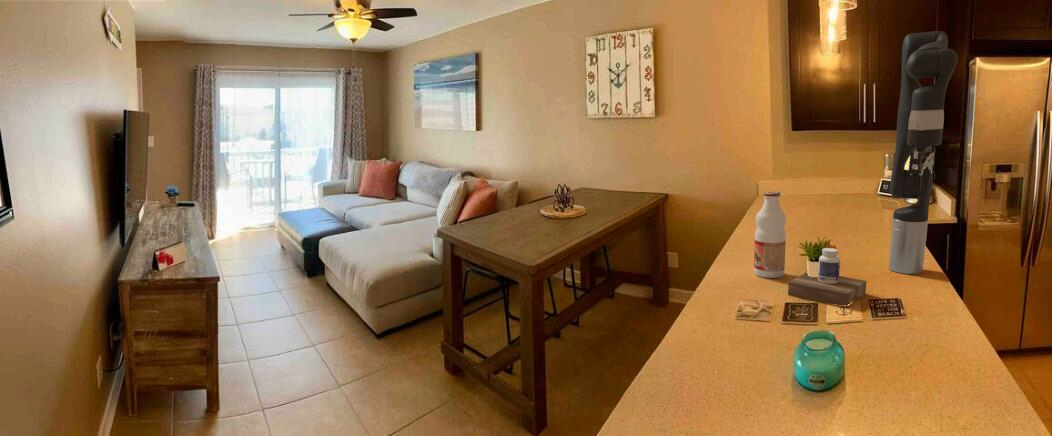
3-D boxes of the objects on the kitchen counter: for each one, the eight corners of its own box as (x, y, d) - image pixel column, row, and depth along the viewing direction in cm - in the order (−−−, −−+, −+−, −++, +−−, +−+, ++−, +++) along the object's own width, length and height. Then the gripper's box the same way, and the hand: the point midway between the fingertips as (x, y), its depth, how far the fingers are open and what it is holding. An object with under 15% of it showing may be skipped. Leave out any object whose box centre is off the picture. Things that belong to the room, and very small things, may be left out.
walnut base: (808, 282, 170) (809, 270, 169) (865, 293, 158) (866, 280, 158) (787, 294, 161) (788, 282, 160) (846, 307, 149) (847, 294, 148)
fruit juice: (777, 280, 174) (781, 195, 168) (748, 275, 180) (751, 193, 175) (788, 273, 180) (792, 191, 174) (760, 268, 187) (763, 189, 181)
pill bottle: (841, 284, 156) (843, 252, 154) (821, 284, 157) (823, 252, 155) (834, 278, 161) (836, 247, 159) (815, 278, 162) (817, 247, 160)
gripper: (916, 125, 151) (911, 183, 154) (900, 129, 142) (895, 189, 145) (949, 125, 145) (943, 184, 148) (935, 128, 136) (929, 191, 139)
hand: (919, 187), depth 147 cm, fingers open, 8 cm apart
